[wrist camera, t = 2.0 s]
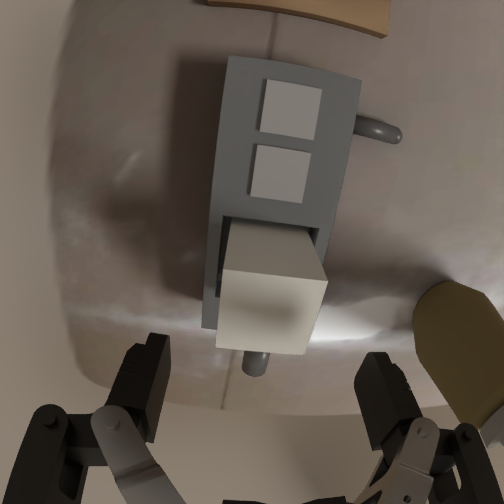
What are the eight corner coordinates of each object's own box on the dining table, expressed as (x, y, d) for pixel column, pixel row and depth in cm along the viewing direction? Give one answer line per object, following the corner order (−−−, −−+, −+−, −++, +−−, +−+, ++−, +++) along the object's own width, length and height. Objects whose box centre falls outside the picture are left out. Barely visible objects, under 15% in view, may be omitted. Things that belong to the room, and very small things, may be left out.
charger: (232, 213, 19) (223, 269, 12) (303, 222, 19) (328, 281, 13) (222, 302, 22) (213, 376, 16) (283, 309, 22) (293, 383, 16)
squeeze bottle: (384, 332, 25) (457, 515, 9) (433, 256, 21) (567, 432, 5) (439, 345, 26) (509, 487, 10) (483, 282, 23) (588, 416, 6)
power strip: (232, 64, 16) (227, 53, 12) (403, 101, 16) (431, 102, 13) (206, 302, 23) (200, 333, 20) (345, 316, 24) (356, 346, 20)
